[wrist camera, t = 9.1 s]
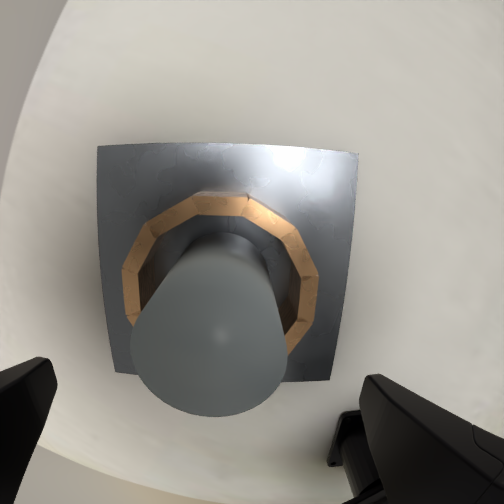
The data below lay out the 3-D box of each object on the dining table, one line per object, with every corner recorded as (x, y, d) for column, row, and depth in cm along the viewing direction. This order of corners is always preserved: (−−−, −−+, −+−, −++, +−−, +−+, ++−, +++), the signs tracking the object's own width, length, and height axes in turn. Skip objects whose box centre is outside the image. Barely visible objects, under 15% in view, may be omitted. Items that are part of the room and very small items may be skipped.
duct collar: (326, 373, 20) (341, 409, 17) (118, 365, 20) (100, 399, 16) (353, 154, 17) (381, 151, 13) (103, 146, 16) (71, 143, 12)
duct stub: (271, 234, 17) (295, 288, 9) (265, 321, 18) (279, 418, 10) (176, 230, 17) (123, 279, 9) (177, 317, 18) (140, 409, 10)
